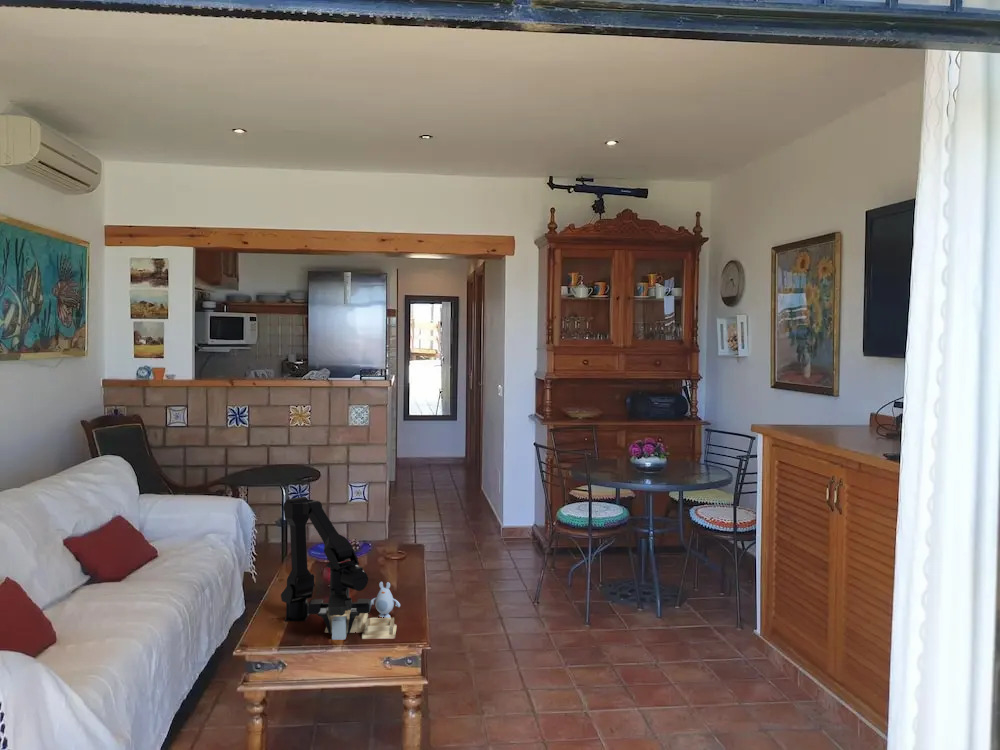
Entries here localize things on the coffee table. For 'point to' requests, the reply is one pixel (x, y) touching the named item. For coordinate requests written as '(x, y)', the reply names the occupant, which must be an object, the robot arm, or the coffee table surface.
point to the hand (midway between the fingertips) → (339, 633)
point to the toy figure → (384, 601)
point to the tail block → (339, 628)
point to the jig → (370, 626)
